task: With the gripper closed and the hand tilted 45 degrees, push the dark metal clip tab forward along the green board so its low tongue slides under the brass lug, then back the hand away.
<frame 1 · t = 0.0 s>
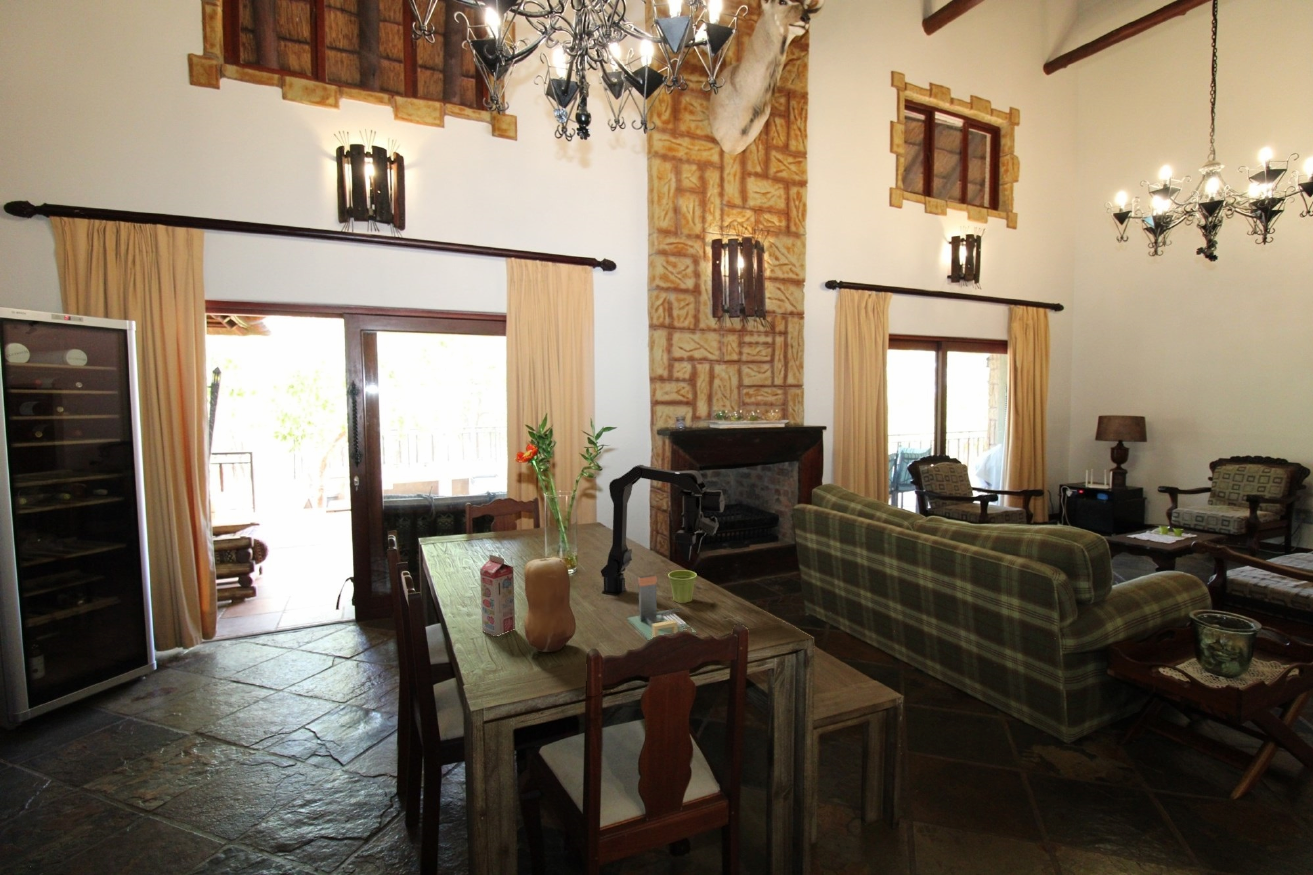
hand: (692, 557, 198), 15 cm above the table, tool pointing down, fingers open, 9 cm apart
plant pot: (682, 600, 200), on the table
butternut squash: (550, 650, 163), on the table
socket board: (651, 625, 179), on the table
juice carton: (498, 631, 177), on the table
retention clip: (663, 598, 180), point 8 cm above the table, slide at 0.0 cm
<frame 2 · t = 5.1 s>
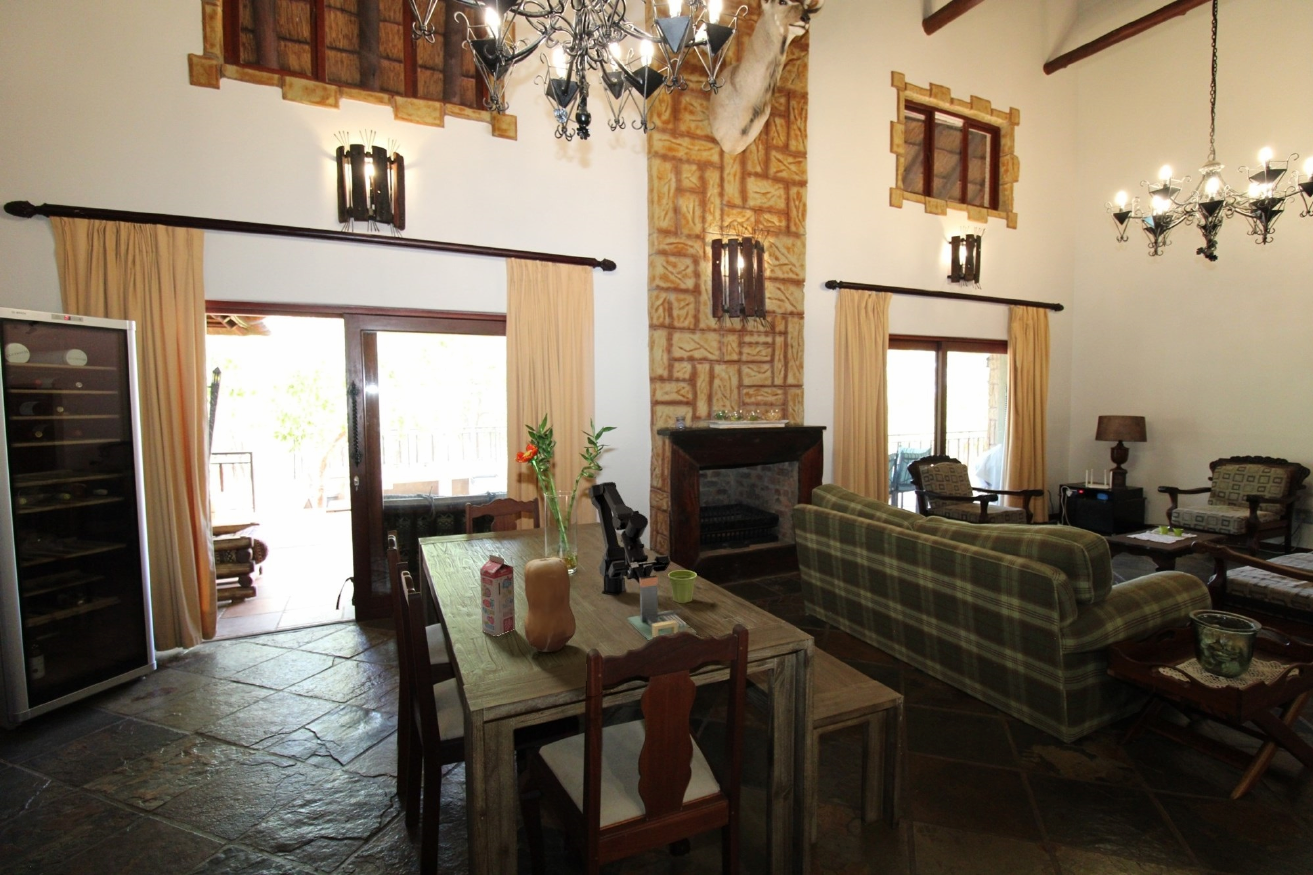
hand: (647, 591, 181), 9 cm above the table, tool tilted 45°, fingers closed, pressing on retention clip
retention clip: (665, 599, 179), point 8 cm above the table, slide at 0.9 cm, touching gripper
everything else where it was.
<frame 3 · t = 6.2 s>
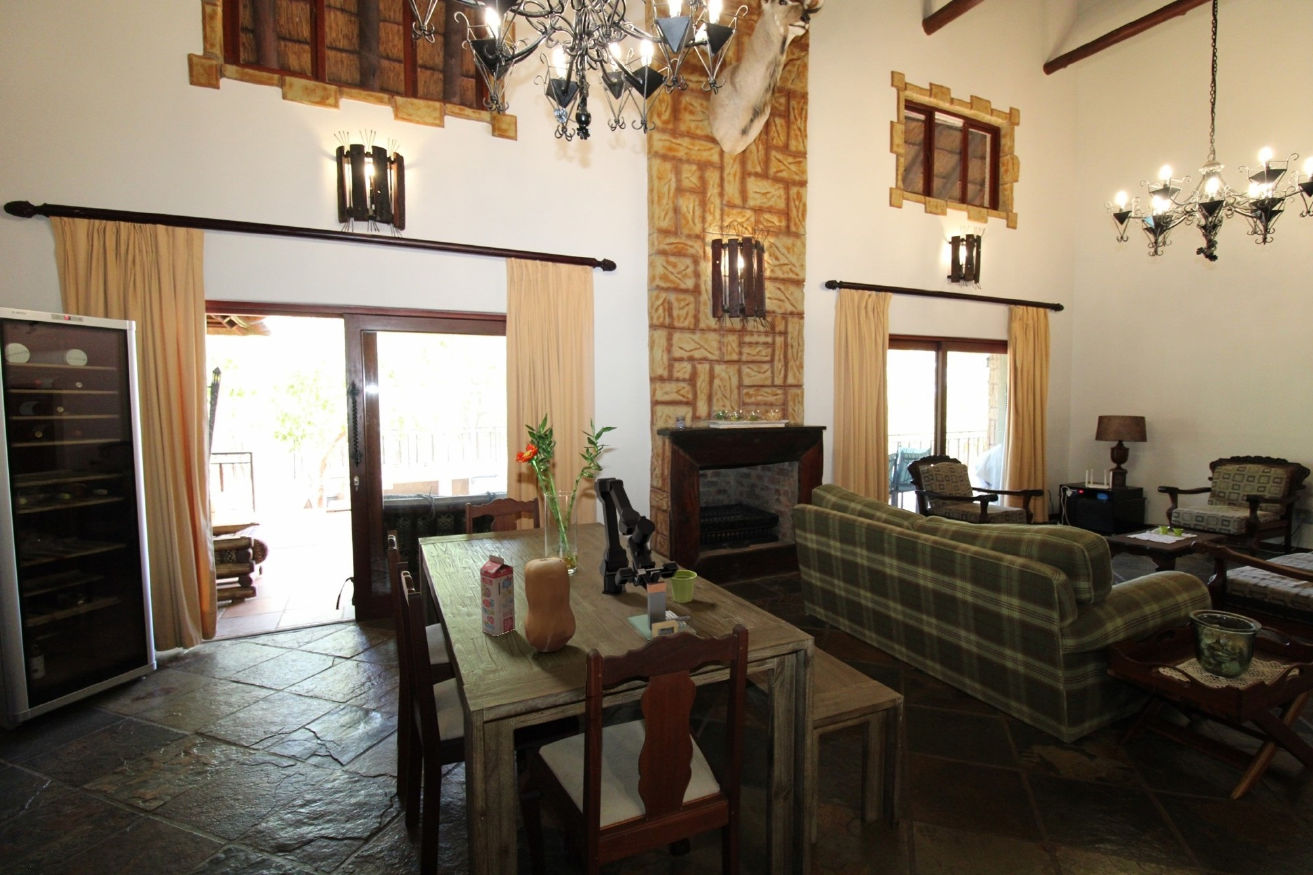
hand: (655, 599, 176), 9 cm above the table, tool tilted 45°, fingers closed
retention clip: (673, 606, 174), point 8 cm above the table, slide at 6.7 cm, touching gripper
everything else where it was.
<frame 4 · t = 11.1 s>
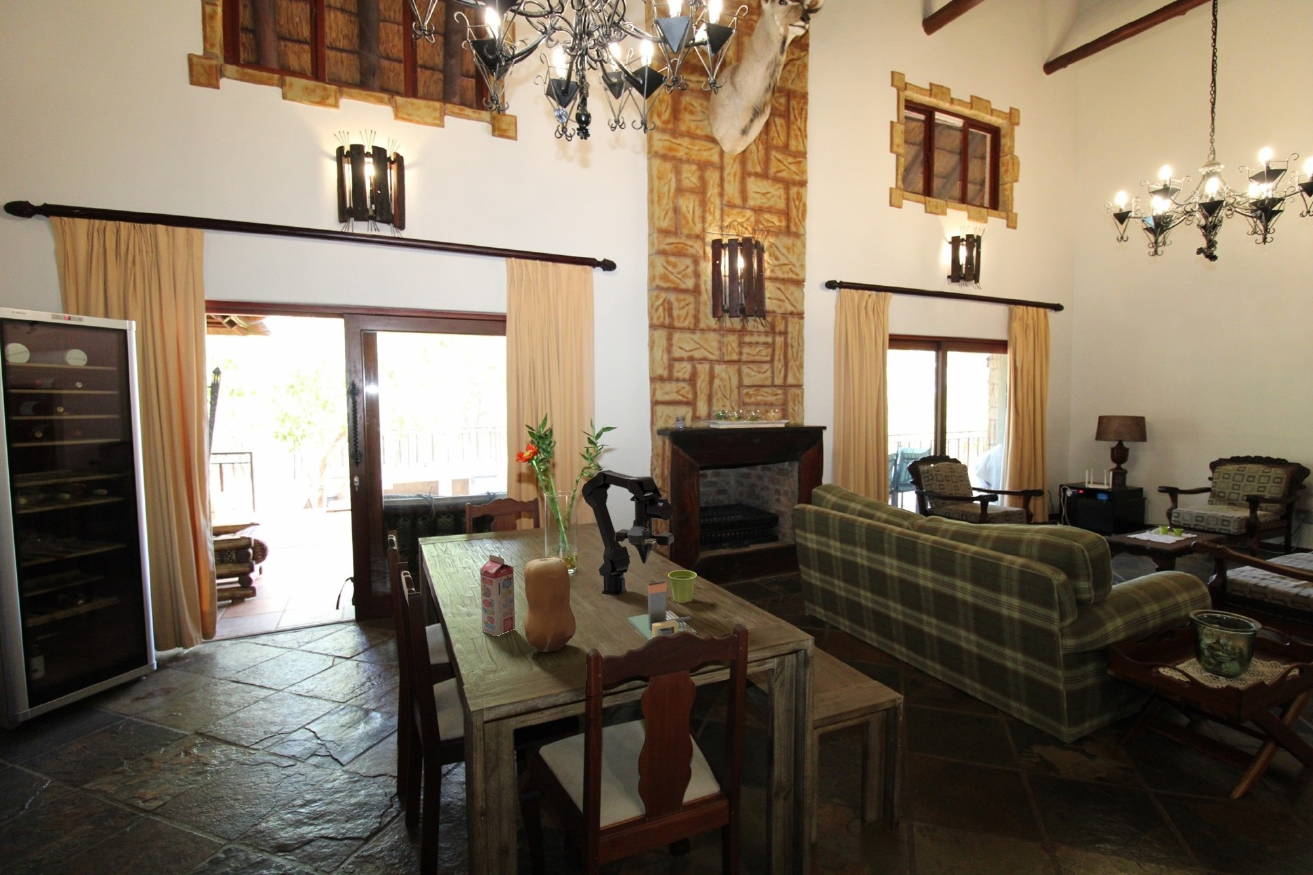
hand: (644, 563, 198), 13 cm above the table, tool pointing down, fingers closed
retention clip: (674, 606, 173), point 7 cm above the table, slide at 7.2 cm
everything else where it was.
at the end: retention clip slide at 7.2 cm; the gripper is holding nothing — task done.
